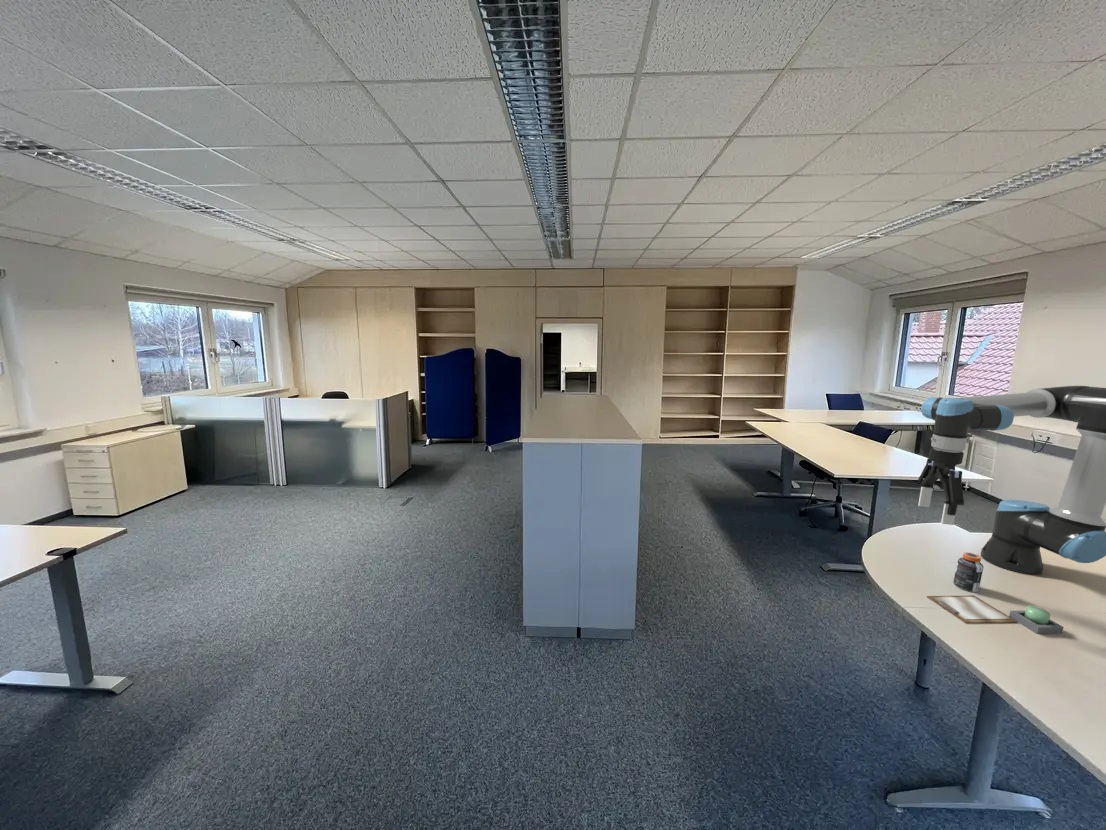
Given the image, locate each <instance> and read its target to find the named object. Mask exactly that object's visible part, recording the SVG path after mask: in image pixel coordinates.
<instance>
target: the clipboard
mask: <svg viewBox="0 0 1106 830" xmlns="http://www.w3.org/2000/svg"><path fill="white" fill-rule="evenodd" d="M926 598H927V599H929V600H930V601H933V603H935V604H937V606H939V607H941V608H943V609H944V610H946V611H947V612H948V613H950V614H951V615H952V616H954V617H956V618H957V620H960V621H961V622H962V623H965V624H1011V623H1012V624H1013V623H1014V624H1017V623H1018V622H1017V621H1016V620H1014V619H1012V618H1011V617H1009V615H1007V614H1006V613H1005V612H1003V611H1001V610H1000V609H997V608H996V607H994V606H993V605H991V604H989V603H987V602H985V601H984V600H982V599H981V598H979V597H977V596H975V595H974V594H973V595H972V594H971V595H927V596H926Z"/></svg>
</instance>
